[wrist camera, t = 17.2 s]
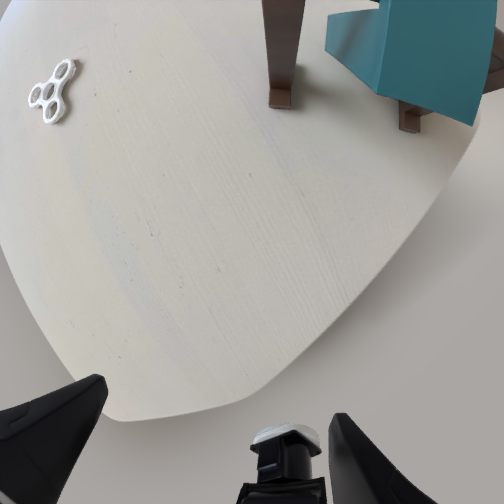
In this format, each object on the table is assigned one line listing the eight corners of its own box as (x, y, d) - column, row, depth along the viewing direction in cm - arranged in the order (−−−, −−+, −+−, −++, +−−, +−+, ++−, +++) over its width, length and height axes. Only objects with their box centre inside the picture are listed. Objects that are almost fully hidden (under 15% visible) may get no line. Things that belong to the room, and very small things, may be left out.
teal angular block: (376, 61, 15) (472, 127, 6) (324, 50, 15) (375, 93, 7) (385, -13, 10) (498, -26, 1) (330, -27, 10) (390, -82, 2)
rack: (414, 133, 17) (545, 104, 4) (268, 107, 18) (253, -7, 5) (414, 88, 16) (525, 28, 3) (272, 61, 17) (263, -71, 4)
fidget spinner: (74, 54, 17) (70, 52, 16) (82, 102, 18) (77, 100, 17) (31, 93, 18) (26, 92, 17) (37, 140, 19) (31, 140, 19)
